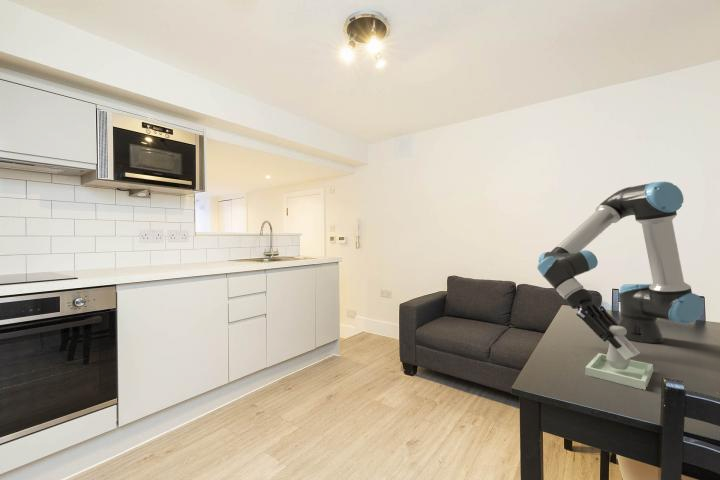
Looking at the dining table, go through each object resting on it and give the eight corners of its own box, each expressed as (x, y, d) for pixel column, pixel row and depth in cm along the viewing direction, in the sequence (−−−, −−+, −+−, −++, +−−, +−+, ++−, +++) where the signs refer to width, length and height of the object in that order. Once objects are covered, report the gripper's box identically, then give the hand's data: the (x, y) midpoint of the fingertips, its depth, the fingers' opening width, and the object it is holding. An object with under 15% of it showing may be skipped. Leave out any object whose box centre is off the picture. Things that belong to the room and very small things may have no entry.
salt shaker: (601, 364, 101) (601, 324, 101) (618, 363, 102) (617, 323, 102) (618, 371, 95) (617, 329, 96) (635, 370, 96) (634, 328, 96)
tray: (598, 359, 110) (598, 352, 110) (653, 371, 99) (652, 364, 99) (585, 374, 98) (585, 367, 98) (645, 390, 87) (645, 381, 87)
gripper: (579, 298, 116) (635, 357, 101) (553, 302, 109) (609, 366, 94) (595, 286, 111) (656, 346, 96) (569, 289, 104) (630, 355, 89)
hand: (632, 356), depth 95 cm, fingers closed on salt shaker, 3 cm apart
